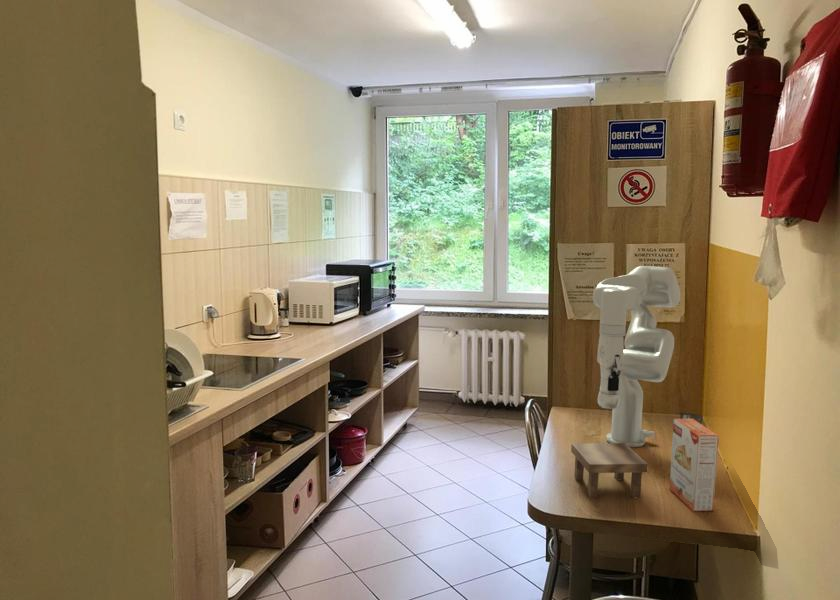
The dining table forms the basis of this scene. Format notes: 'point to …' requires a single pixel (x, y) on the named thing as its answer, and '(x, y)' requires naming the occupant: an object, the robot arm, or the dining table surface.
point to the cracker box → (694, 464)
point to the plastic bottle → (607, 397)
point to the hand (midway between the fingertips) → (609, 387)
